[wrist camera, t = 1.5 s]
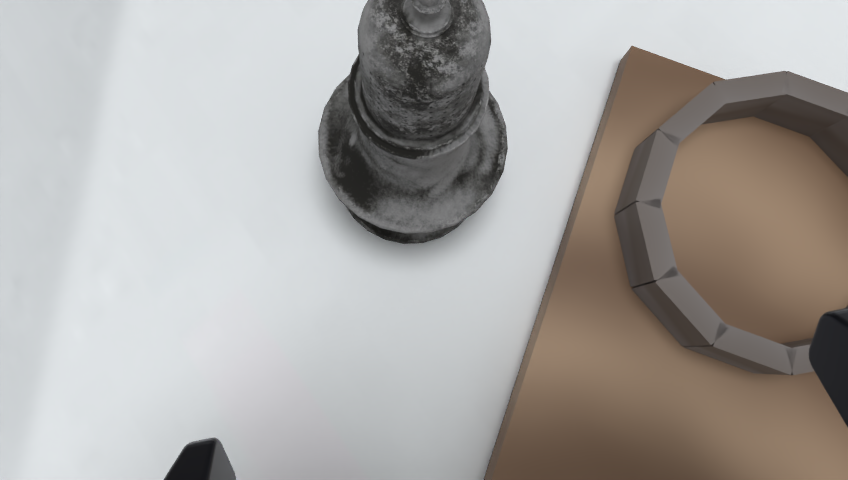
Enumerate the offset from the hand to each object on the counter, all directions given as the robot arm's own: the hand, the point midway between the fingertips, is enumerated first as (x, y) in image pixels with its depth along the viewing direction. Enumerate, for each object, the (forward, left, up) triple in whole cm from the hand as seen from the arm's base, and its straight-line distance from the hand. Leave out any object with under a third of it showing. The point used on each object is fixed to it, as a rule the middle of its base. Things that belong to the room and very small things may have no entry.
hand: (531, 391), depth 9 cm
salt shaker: (+6, +4, -13) cm, 15 cm away
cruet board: (+4, -9, -13) cm, 17 cm away
